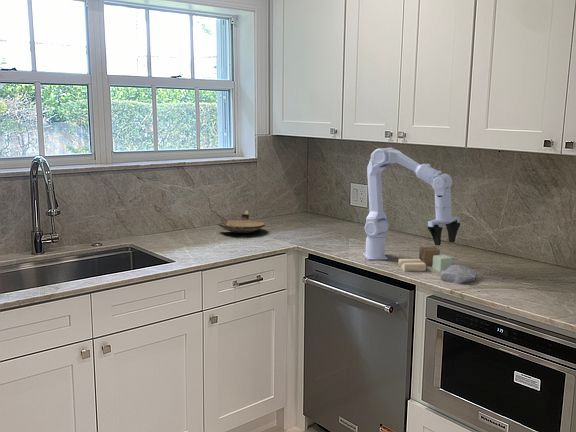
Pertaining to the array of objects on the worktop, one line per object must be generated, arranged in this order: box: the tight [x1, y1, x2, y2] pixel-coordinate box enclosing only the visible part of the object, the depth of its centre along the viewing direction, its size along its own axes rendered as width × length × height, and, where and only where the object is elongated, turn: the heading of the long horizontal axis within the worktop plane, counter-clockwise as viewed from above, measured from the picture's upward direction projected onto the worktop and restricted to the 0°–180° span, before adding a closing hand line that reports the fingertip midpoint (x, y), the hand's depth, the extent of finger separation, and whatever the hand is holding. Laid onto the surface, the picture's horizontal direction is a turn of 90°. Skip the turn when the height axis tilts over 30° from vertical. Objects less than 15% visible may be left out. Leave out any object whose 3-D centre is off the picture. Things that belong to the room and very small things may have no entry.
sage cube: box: [431, 254, 453, 273], centre depth 212 cm, size 5×5×5 cm
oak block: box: [397, 258, 427, 272], centre depth 213 cm, size 8×8×3 cm
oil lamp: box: [217, 210, 266, 234], centre depth 273 cm, size 22×30×8 cm
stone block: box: [440, 264, 478, 285], centre depth 200 cm, size 12×5×10 cm
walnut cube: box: [418, 246, 441, 266], centre depth 220 cm, size 6×6×6 cm
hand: (444, 243), depth 209 cm, fingers open, 7 cm apart
